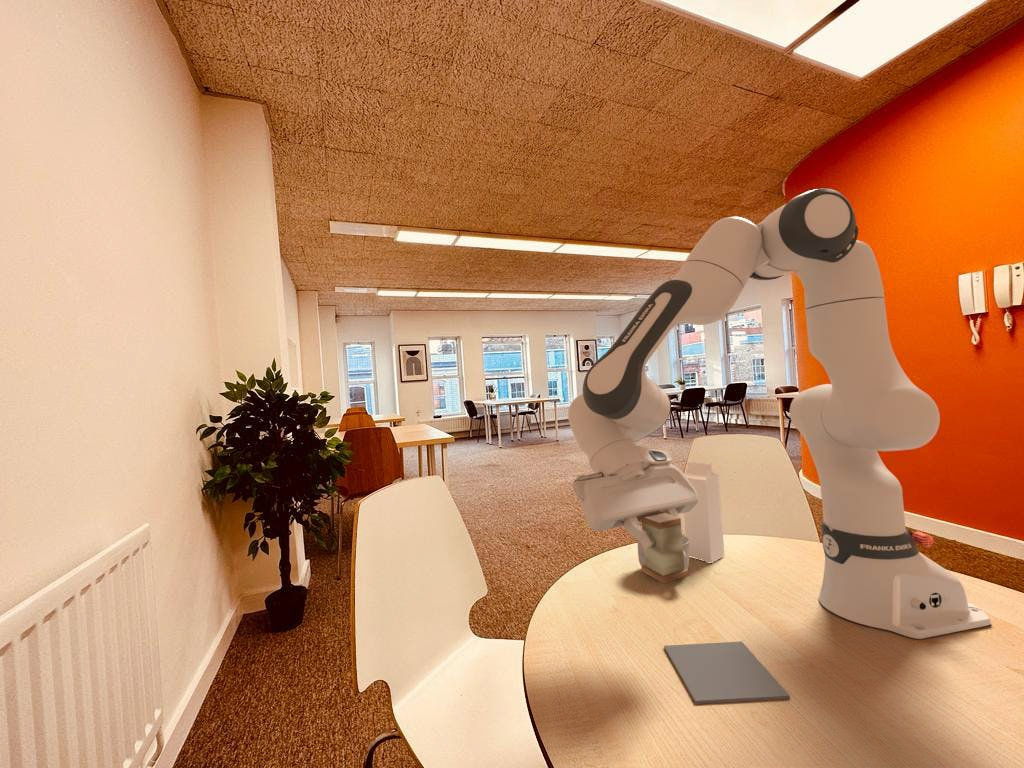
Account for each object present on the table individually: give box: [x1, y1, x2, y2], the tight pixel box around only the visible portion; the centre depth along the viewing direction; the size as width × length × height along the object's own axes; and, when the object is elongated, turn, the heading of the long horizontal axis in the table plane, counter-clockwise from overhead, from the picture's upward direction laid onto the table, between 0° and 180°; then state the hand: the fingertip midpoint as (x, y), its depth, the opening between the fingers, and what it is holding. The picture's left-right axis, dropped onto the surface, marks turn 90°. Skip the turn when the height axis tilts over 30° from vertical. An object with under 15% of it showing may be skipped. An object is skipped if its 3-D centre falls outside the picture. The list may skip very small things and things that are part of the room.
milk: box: [683, 461, 726, 564], centre depth 101 cm, size 6×6×22 cm
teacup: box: [636, 535, 690, 570], centre depth 92 cm, size 14×11×8 cm
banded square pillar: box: [640, 512, 690, 584], centre depth 66 cm, size 5×5×8 cm
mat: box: [663, 641, 791, 705], centre depth 61 cm, size 12×12×1 cm
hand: (665, 543), depth 65 cm, fingers closed on banded square pillar, 4 cm apart
